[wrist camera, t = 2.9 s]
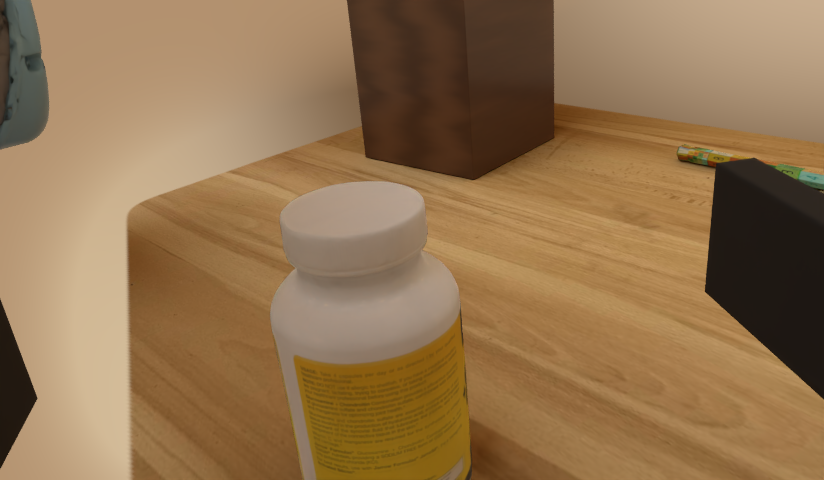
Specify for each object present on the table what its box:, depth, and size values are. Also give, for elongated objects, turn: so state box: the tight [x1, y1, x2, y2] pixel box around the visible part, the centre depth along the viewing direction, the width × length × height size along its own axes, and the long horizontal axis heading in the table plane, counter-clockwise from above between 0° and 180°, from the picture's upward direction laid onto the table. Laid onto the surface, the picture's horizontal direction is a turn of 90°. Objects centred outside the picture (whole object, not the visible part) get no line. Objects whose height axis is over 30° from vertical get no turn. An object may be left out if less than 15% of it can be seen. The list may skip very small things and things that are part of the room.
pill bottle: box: [270, 181, 472, 480], centre depth 26 cm, size 6×6×12 cm
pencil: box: [677, 144, 824, 190], centre depth 51 cm, size 1×1×18 cm
